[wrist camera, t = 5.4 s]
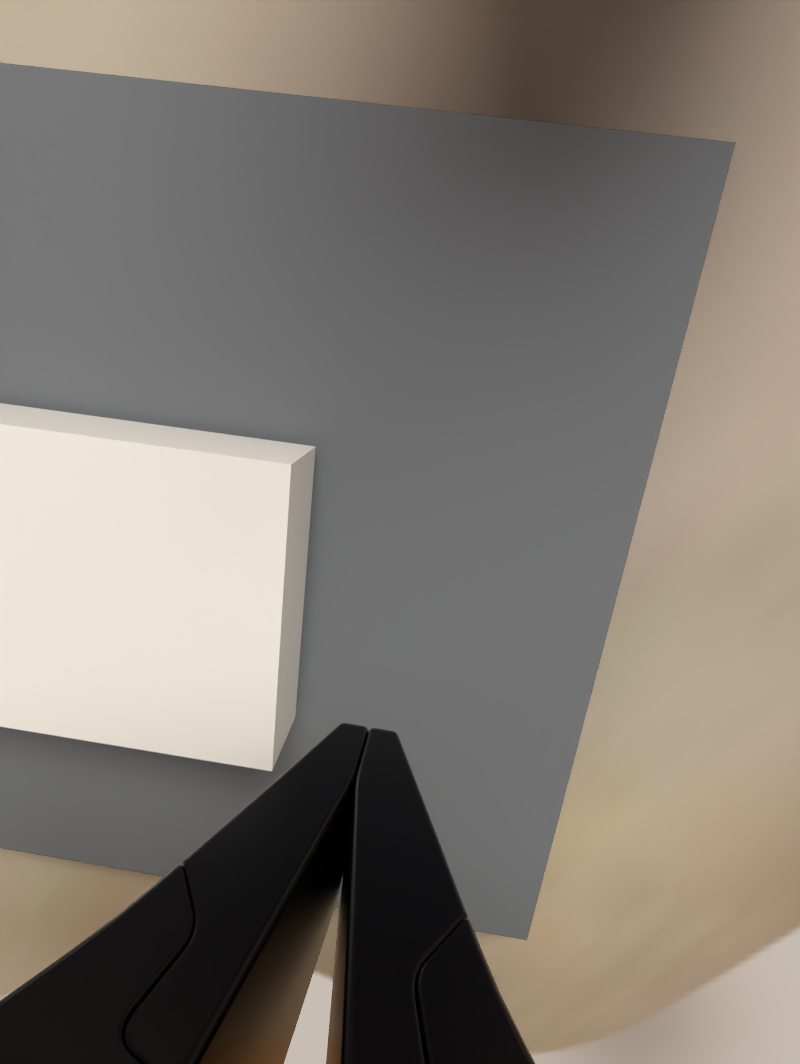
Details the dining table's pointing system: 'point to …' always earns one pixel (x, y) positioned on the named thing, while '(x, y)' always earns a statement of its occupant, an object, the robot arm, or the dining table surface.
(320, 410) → the mat
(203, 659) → the tile
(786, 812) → the dining table surface
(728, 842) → the dining table surface
